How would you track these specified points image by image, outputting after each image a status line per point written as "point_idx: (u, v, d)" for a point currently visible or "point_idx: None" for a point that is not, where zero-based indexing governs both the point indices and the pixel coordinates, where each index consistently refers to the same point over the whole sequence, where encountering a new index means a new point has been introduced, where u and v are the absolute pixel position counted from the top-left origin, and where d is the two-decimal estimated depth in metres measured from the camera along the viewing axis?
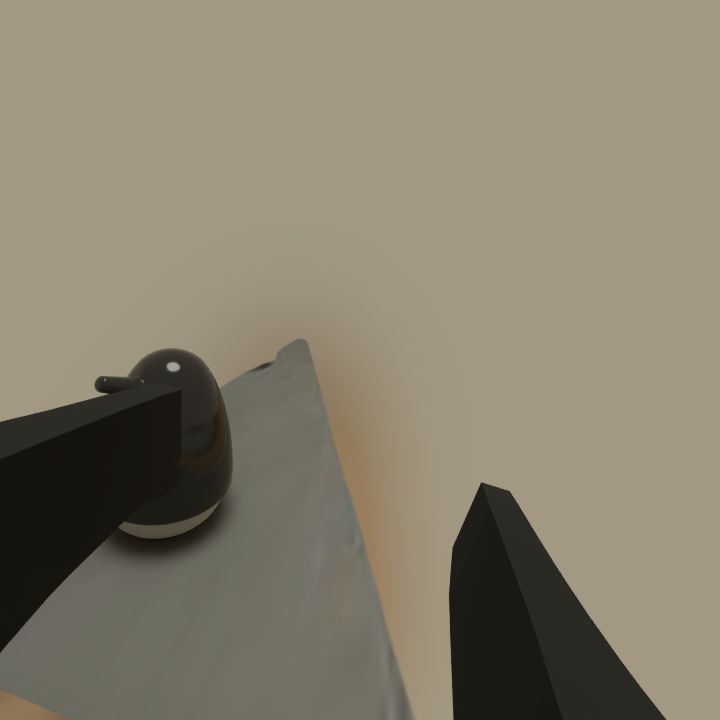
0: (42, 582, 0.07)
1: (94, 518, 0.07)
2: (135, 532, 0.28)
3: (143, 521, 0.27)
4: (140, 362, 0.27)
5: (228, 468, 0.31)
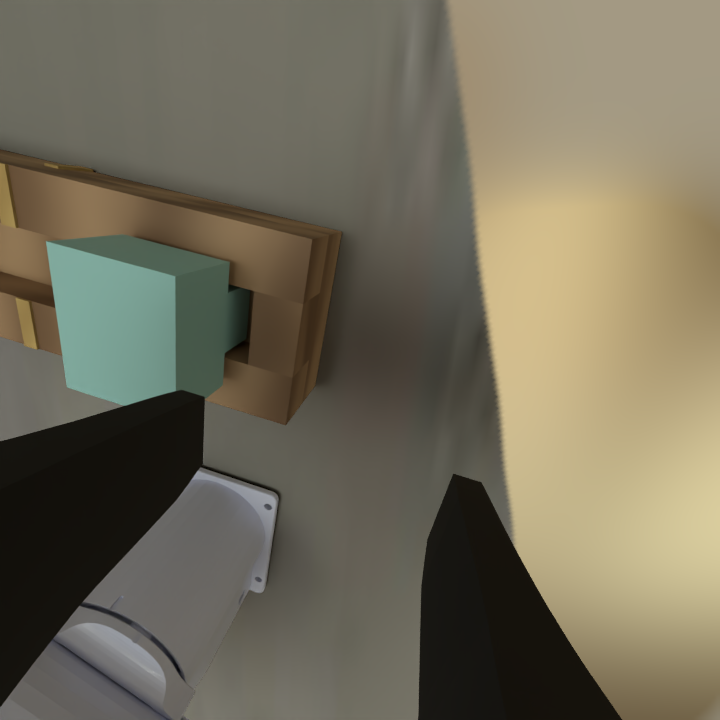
0: (73, 592, 0.06)
1: (121, 528, 0.07)
2: None
3: None
4: None
5: None
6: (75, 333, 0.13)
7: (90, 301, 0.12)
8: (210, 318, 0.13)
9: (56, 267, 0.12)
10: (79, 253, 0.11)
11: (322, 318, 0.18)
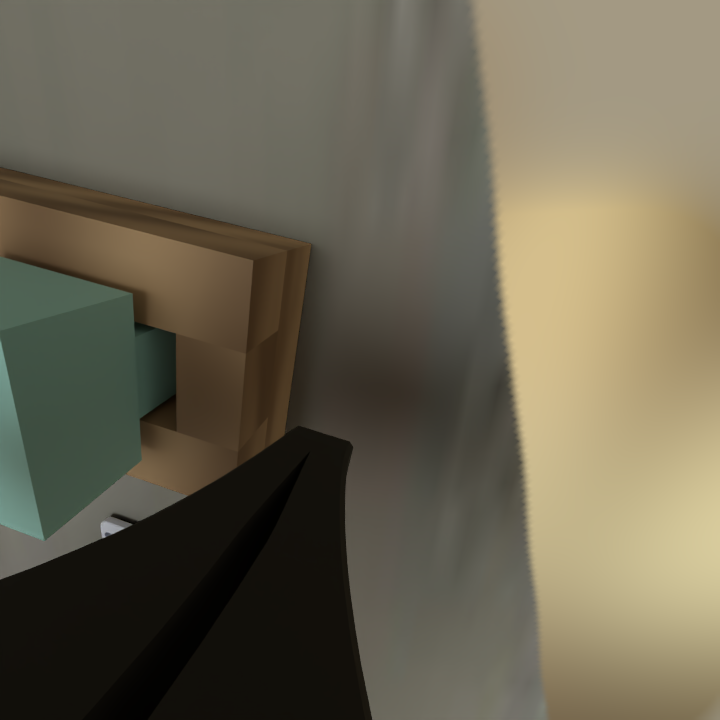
0: None
1: None
2: None
3: None
4: None
5: None
6: None
7: None
8: (101, 379, 0.09)
9: None
10: None
11: (287, 359, 0.13)
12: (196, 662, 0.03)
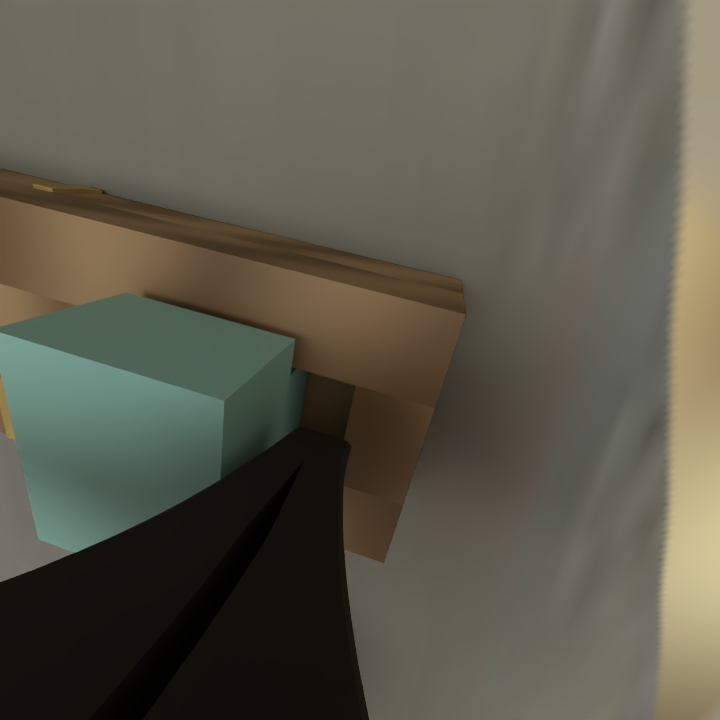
0: None
1: None
2: None
3: None
4: None
5: None
6: (48, 470, 0.08)
7: (71, 426, 0.07)
8: (266, 431, 0.08)
9: (11, 371, 0.07)
10: (49, 351, 0.06)
11: None
12: (192, 661, 0.03)
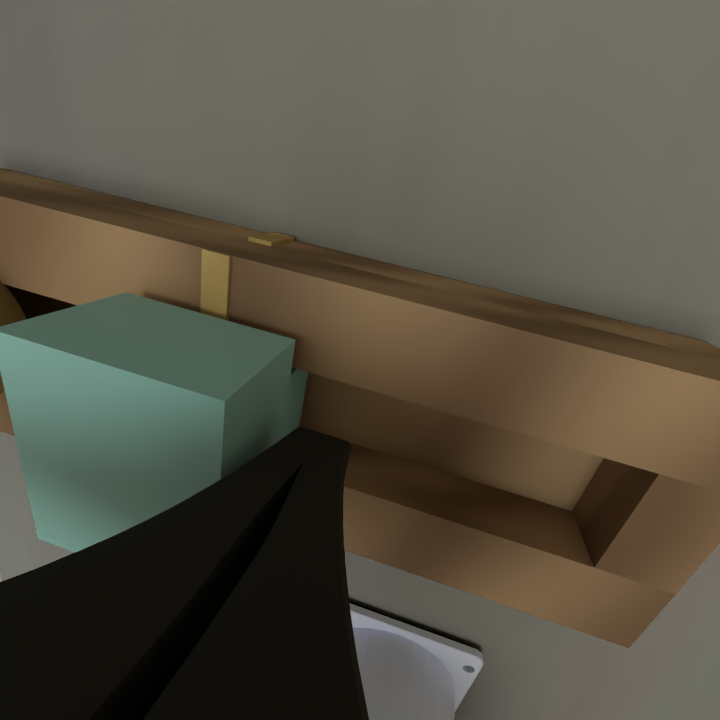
0: None
1: None
2: None
3: None
4: None
5: None
6: (48, 470, 0.08)
7: (71, 426, 0.07)
8: (266, 431, 0.08)
9: (11, 371, 0.07)
10: (50, 351, 0.06)
11: None
12: (193, 661, 0.03)
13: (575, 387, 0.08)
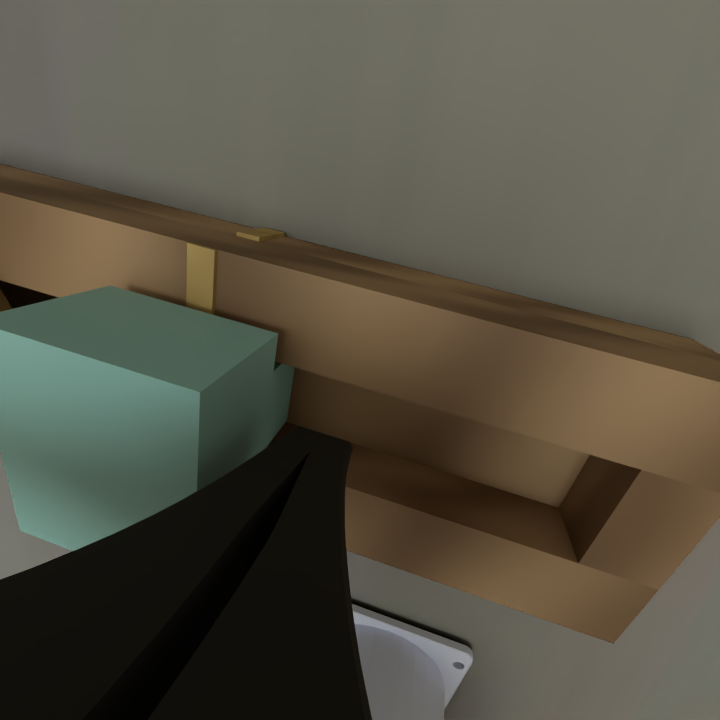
0: None
1: None
2: None
3: None
4: None
5: None
6: (28, 462, 0.08)
7: (50, 417, 0.07)
8: (248, 425, 0.08)
9: None
10: (27, 342, 0.06)
11: None
12: (196, 662, 0.03)
13: (558, 383, 0.08)
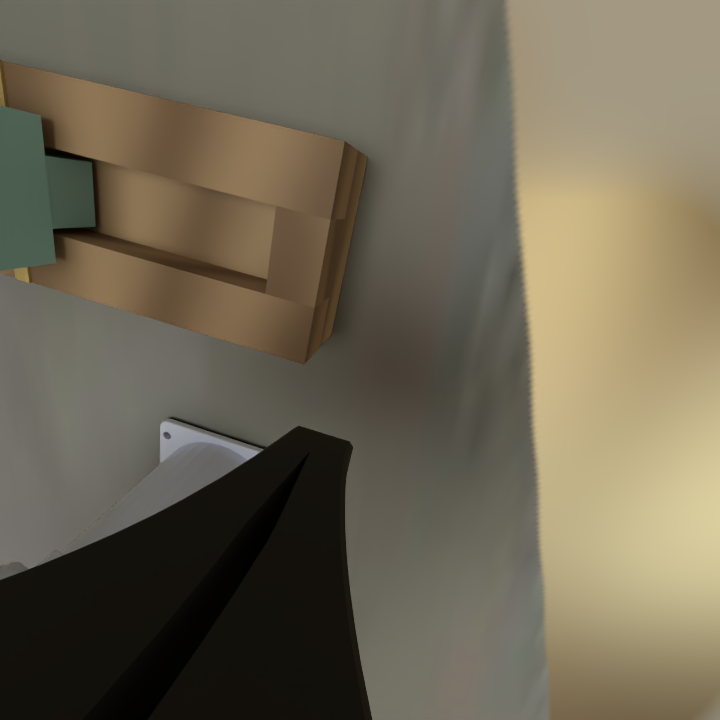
0: None
1: None
2: None
3: None
4: None
5: None
6: None
7: None
8: (16, 171, 0.13)
9: None
10: None
11: (343, 254, 0.16)
12: (196, 662, 0.03)
13: (213, 142, 0.13)
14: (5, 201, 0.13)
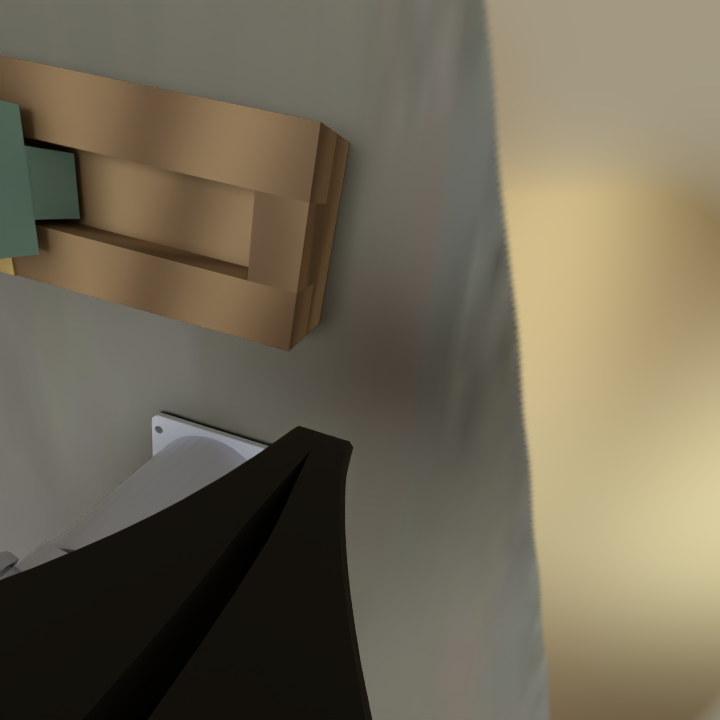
0: None
1: None
2: None
3: None
4: None
5: None
6: None
7: None
8: None
9: None
10: None
11: (328, 241, 0.16)
12: (196, 662, 0.03)
13: (191, 127, 0.13)
14: None
